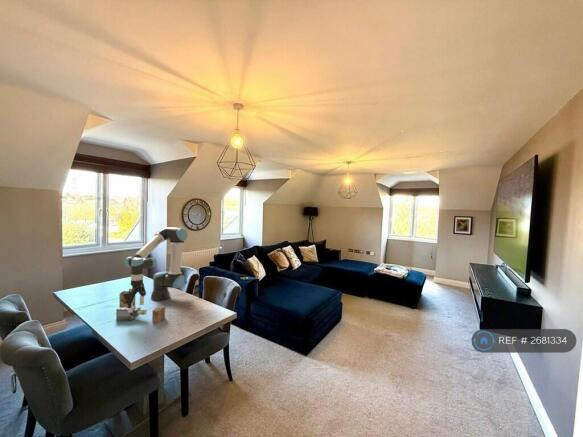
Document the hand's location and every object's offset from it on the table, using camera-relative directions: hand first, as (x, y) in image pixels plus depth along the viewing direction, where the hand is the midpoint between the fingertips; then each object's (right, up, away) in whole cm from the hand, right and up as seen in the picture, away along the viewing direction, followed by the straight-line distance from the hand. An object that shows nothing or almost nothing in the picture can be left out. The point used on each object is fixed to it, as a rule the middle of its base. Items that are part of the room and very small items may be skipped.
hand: (136, 308), depth 177 cm
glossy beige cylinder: (-2, -5, +1) cm, 6 cm away
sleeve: (-8, -8, +1) cm, 11 cm away
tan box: (+16, -9, +1) cm, 18 cm away
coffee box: (-14, -8, +11) cm, 20 cm away
